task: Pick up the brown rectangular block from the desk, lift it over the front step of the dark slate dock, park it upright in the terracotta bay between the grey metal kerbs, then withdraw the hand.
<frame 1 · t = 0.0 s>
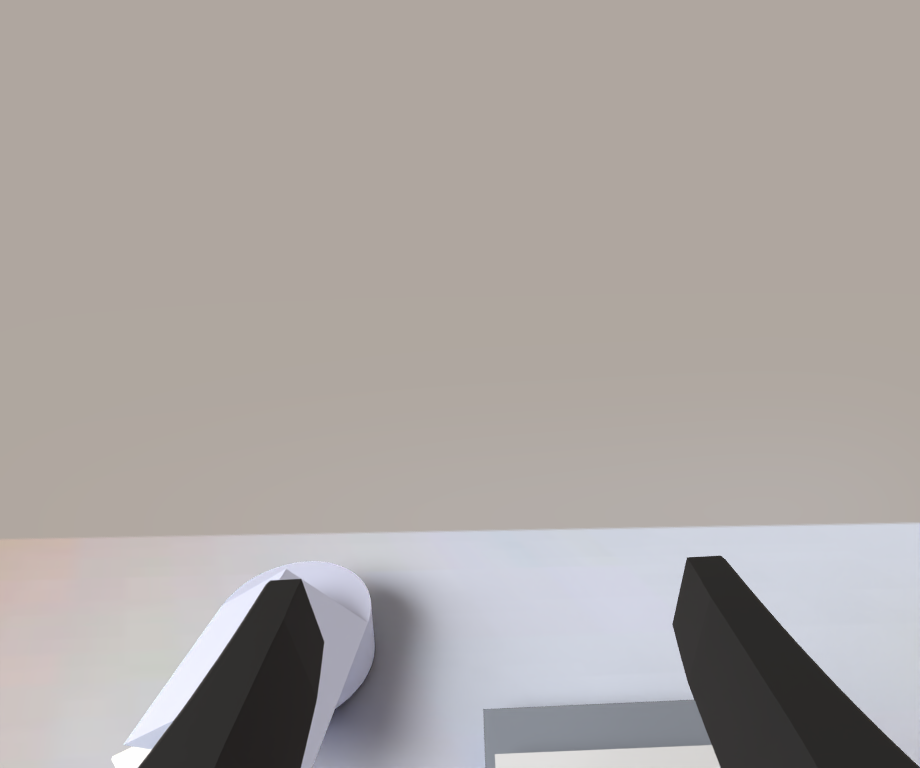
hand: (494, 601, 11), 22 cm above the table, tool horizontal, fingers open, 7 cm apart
wedge on round base: (286, 686, 33), point 1 cm above the table
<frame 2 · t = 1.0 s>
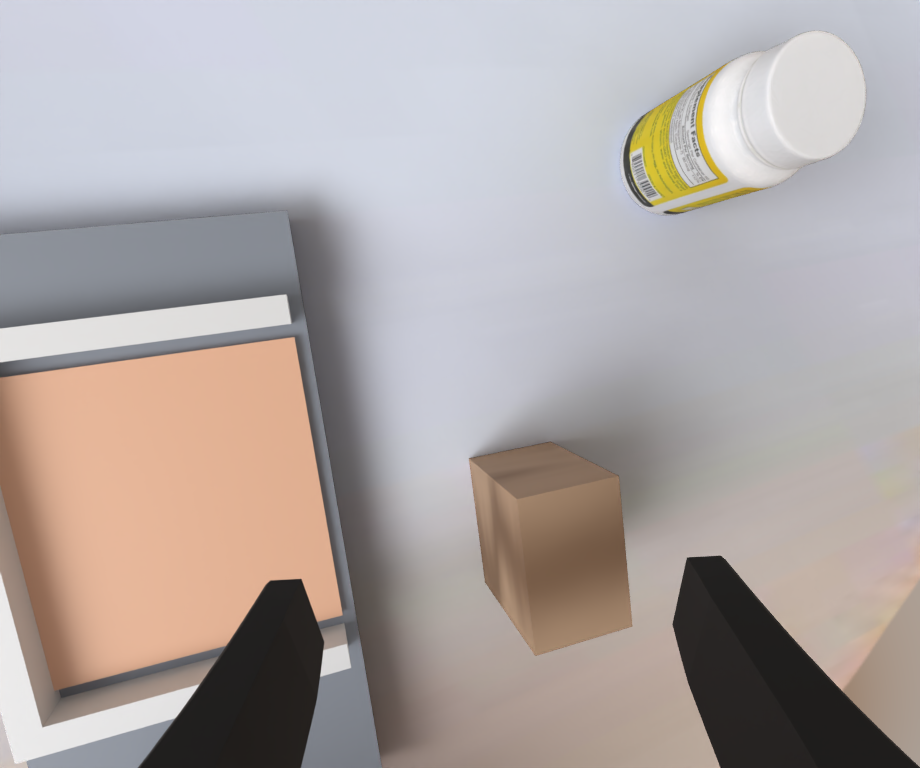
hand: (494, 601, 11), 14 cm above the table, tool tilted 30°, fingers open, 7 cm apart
supplement bottle: (659, 165, 26), on the table
dock: (185, 541, 22), on the table
brown rectangular block: (517, 511, 26), on the table
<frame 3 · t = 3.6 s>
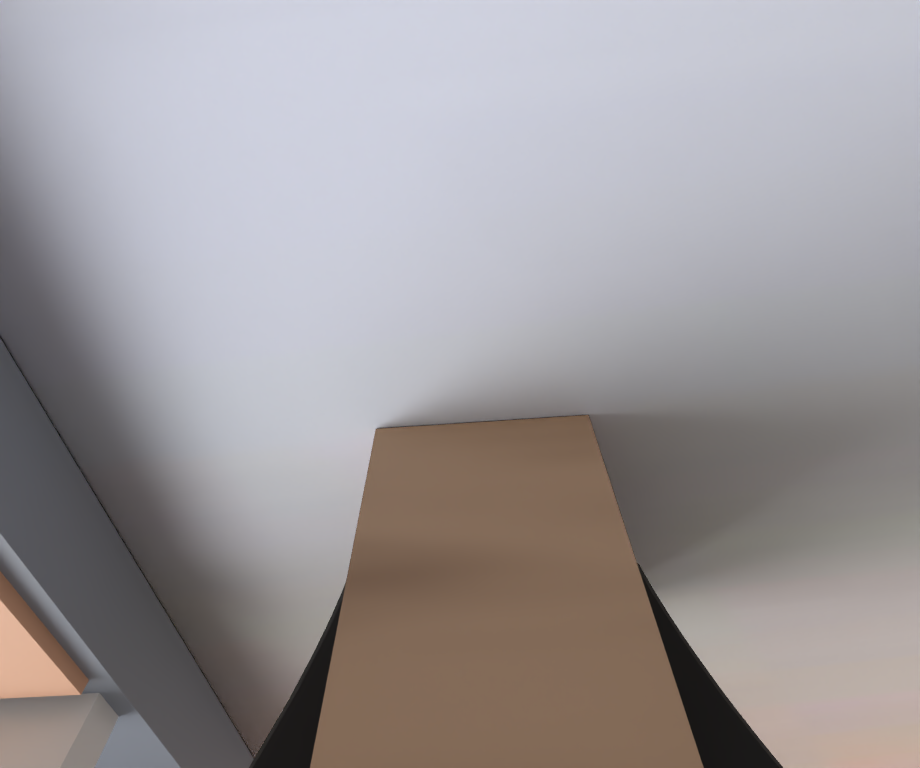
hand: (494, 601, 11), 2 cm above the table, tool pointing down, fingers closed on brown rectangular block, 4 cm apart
brown rectangular block: (489, 531, 12), on the table, touching gripper
when the fingers open (5 cm above the table, at t = 8.4 s): brown rectangular block drops 1 cm, resting on dock.
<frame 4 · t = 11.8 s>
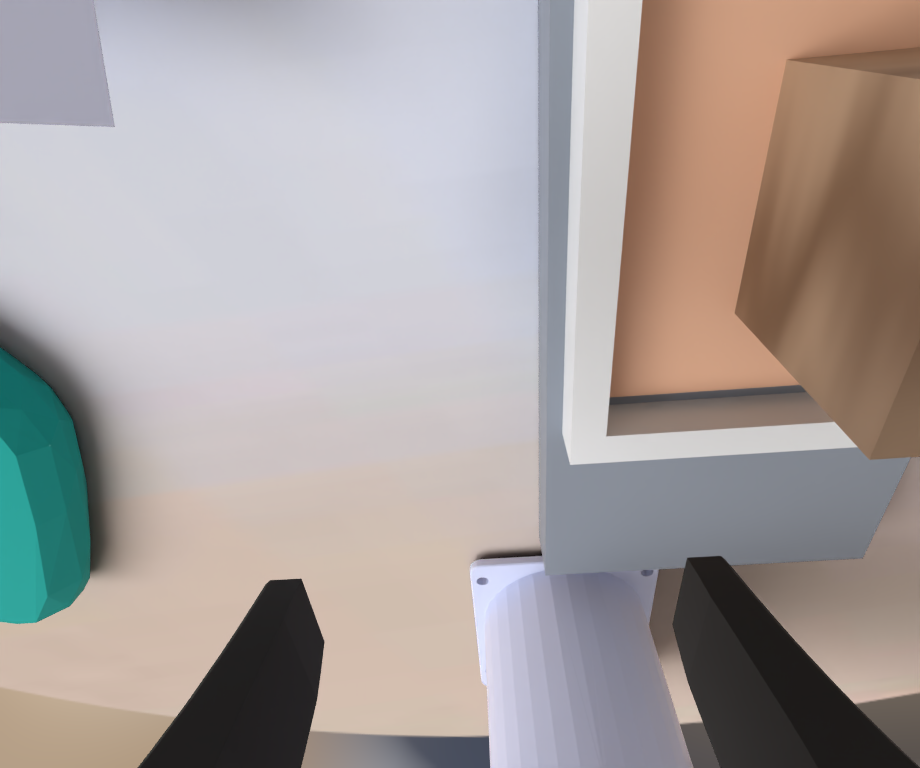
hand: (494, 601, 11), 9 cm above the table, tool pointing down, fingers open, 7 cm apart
dock: (742, 246, 17), on the table
brown rectangular block: (841, 194, 14), point 2 cm above the table, touching dock
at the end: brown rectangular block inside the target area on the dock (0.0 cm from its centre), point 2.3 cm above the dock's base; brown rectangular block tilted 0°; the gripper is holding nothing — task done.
